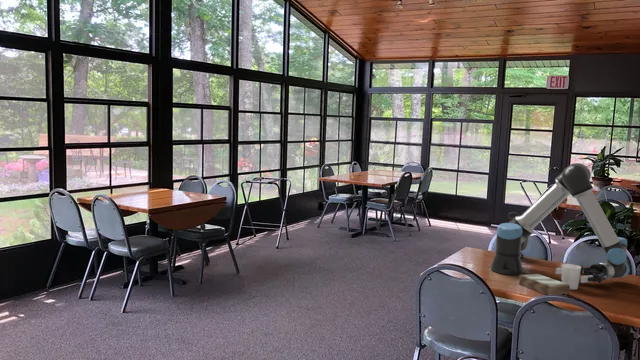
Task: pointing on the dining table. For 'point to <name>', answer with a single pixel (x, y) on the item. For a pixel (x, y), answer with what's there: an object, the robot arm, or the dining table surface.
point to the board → (544, 284)
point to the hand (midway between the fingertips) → (568, 275)
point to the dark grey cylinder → (524, 241)
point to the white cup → (571, 275)
